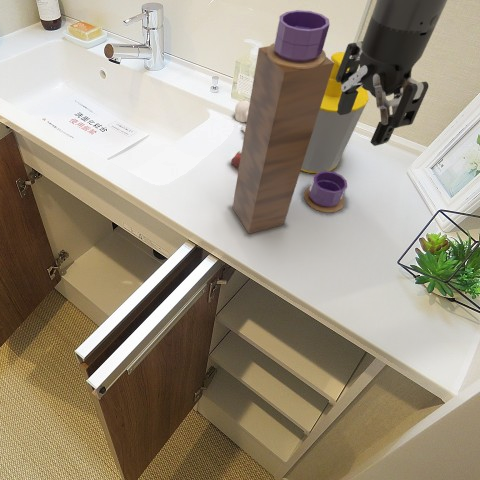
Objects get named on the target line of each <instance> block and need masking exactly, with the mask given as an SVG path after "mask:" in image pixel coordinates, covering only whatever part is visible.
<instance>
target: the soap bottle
mask: <svg viewBox="0 0 480 480" xmlns="http://www.w3.org/2000/svg"><path fill="white" fill-rule="evenodd" d="M344 54H345V51H344V52H343V51H339V52H334V53H332V55H331V57H330V60H331V61H332V62H334V65H333V69H332V72H331V75H330V78H329V81H328V85H327V88H326V91H325V94H324V97H323V101H322V104H321V107H320V110H319V113H318V117H317V120H316V123H315V126H314V129H313V133H312V136H311V139H310V142H309V145H308V149H307V152H306V155H305V158H304V161H303V165H302V168H301V172H305V173H309V174H317V173H319V172H323V171H330V172H332V171H333V170H334V169H335V168H337V166H338V165H339V163H340V161H341V158H342V156H343V154H344V152H345V150H346V148H347V146H348V143H349V141H350V139H351V137H352V135H353V133H354V131H355V129H356V127H357V125H358V122H359V121H360V118H361V117H362V114H363V112H364V110H365V108H366V106H367V103H368V102H369V98H370V96H369V92H368V90H365V89H364V88H362V87H360V88H359V89H356V90H357V91H358V95H357V97H356V100H355V103H354V105H353V108H352V111H351V112H350V113H349V114H345V115H339V114H338V113H337V110H338V103H339V100H340V97H341V94H342V89H341V87H342V84H341V82H337V81H336V76H337V73H338V70H339V67H340V65H341V62H342V59H343V57H344ZM348 71H349V68H348V69H347V71H346V73H347V72H348Z"/></svg>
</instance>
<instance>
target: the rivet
mask: <svg viewBox="0 0 480 480" xmlns="http://www.w3.org/2000/svg"><path fill="white" fill-rule="evenodd" d="M240 129H241V130H242V131H243V132H244V133H245V129H246V126H244V125H240Z"/></svg>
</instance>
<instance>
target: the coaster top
mask: <svg viewBox="0 0 480 480" xmlns="http://www.w3.org/2000/svg"><path fill="white" fill-rule="evenodd" d="M268 46H269V47H268V49H267V57H268V58H269V59H270V60H271V61H272V62H274V63H276V64H278V65H280V66H283V67H287V68H293V69H309V68H314V67H317V66H319V65H321V64H322V63H323V62H324V61H325V58H326V57H327V56H326V55H327V54H326V52H325V51H324V49H323V50H322V53H321V54H320V55H319V56H317V57H316V58H315V59H313V60H311V61H307V62H293V61H288V60H285V59H283V58H281V57H280V56H278V54H277V52H276V51H275V50H274V42H273V43H272V44H270V45H268Z"/></svg>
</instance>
